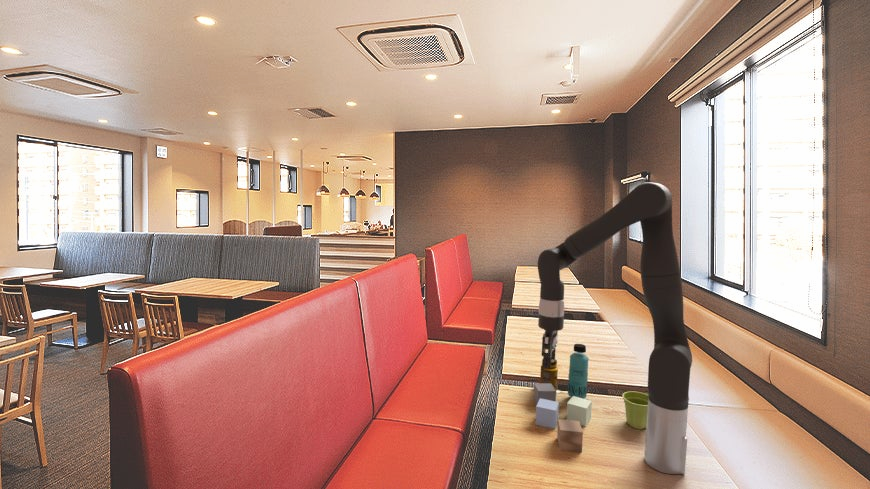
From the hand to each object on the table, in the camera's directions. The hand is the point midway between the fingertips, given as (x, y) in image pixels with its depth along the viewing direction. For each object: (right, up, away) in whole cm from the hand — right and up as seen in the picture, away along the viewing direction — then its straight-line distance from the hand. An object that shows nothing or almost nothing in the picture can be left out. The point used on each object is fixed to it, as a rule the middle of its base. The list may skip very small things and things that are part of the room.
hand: (549, 363), depth 130 cm
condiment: (+5, -17, +24) cm, 30 cm away
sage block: (+11, -19, +4) cm, 22 cm away
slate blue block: (0, -19, +2) cm, 19 cm away
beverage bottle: (+15, -18, +17) cm, 29 cm away
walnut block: (+3, -21, -10) cm, 23 cm away
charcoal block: (+2, -18, +14) cm, 23 cm away
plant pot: (+28, -20, +1) cm, 34 cm away
